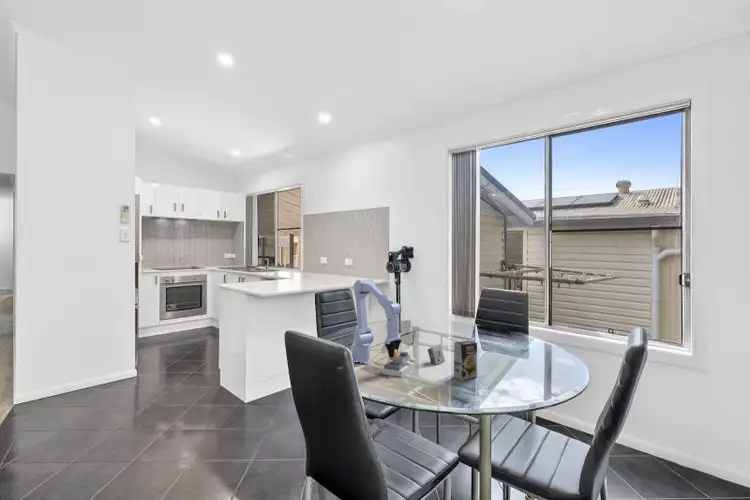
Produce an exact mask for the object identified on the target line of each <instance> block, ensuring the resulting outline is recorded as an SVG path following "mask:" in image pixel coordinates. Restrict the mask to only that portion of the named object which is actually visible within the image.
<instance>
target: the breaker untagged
mask: <svg viewBox="0 0 750 500" xmlns="http://www.w3.org/2000/svg"><path fill="white" fill-rule="evenodd" d="M399 355H400V356H404V357H407V356H408V355H409V352H408V351H401V352H399Z"/></svg>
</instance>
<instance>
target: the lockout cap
mask: <svg viewBox="0 0 750 500" xmlns="http://www.w3.org/2000/svg"><path fill="white" fill-rule="evenodd" d="M397 357H398V353H397V349H395V351H394V357H389V356H388V359H389V361H393V360H397Z"/></svg>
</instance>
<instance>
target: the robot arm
mask: <svg viewBox="0 0 750 500" xmlns="http://www.w3.org/2000/svg"><path fill="white" fill-rule="evenodd" d="M353 290H354V291H353V292H354V296H355V306H356V307H355V308H356V320H357V328H355V330H354V331H353V339H352V340H353V343H354V344H353V345H352V349H351V358H352V357H353V362H352V363H355V362H356V361H358V362H360V363H359V364H362V363H364V365H368V364H369V363H372V362H373V361H374V359H372V358H371V345H372V343H373V342H374V335H373V332H372V331H373V329H371V327H370V326H368V324H369V323H368V317H367V316H368V314H367V313H368V312H367V304H366V297H367V296H368V295H369V294H371V295H373V296H374V297H375V298H376V299H377V303H378V305H380V306H381V307H382V308H383V309H384V314H385V318H386V319H387V320H386V330H387V331H386V334H387V335H386V337H385V338H386V339H385V340H384V341H385V342H384V346H385V348H386V349H387V353H388V358H389V357H394V351H395V349H397V354H399V349H400V344H402V343H401V342H402V337H401V334H400V314H401V313H402V306H401V304H400V303H399V302H395V301H394V300H392V299H391V297H389V295H388V294H386V293H382V292H381V289H379V288H378V286H377V285H376V282H375V281H374V280H373V279H357V280H356V281H355V282H354V284H353ZM354 361H355V362H354Z"/></svg>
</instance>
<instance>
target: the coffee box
mask: <svg viewBox="0 0 750 500" xmlns="http://www.w3.org/2000/svg"><path fill="white" fill-rule="evenodd" d="M453 377H455V378H457V379H459V380H462V381H464V380H468V379H469V378H470V379H474V378H473V377H476V378H477V377H478V343H477V342H475V341H472V340H471V341H470V340H464V341H454V342H453Z"/></svg>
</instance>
